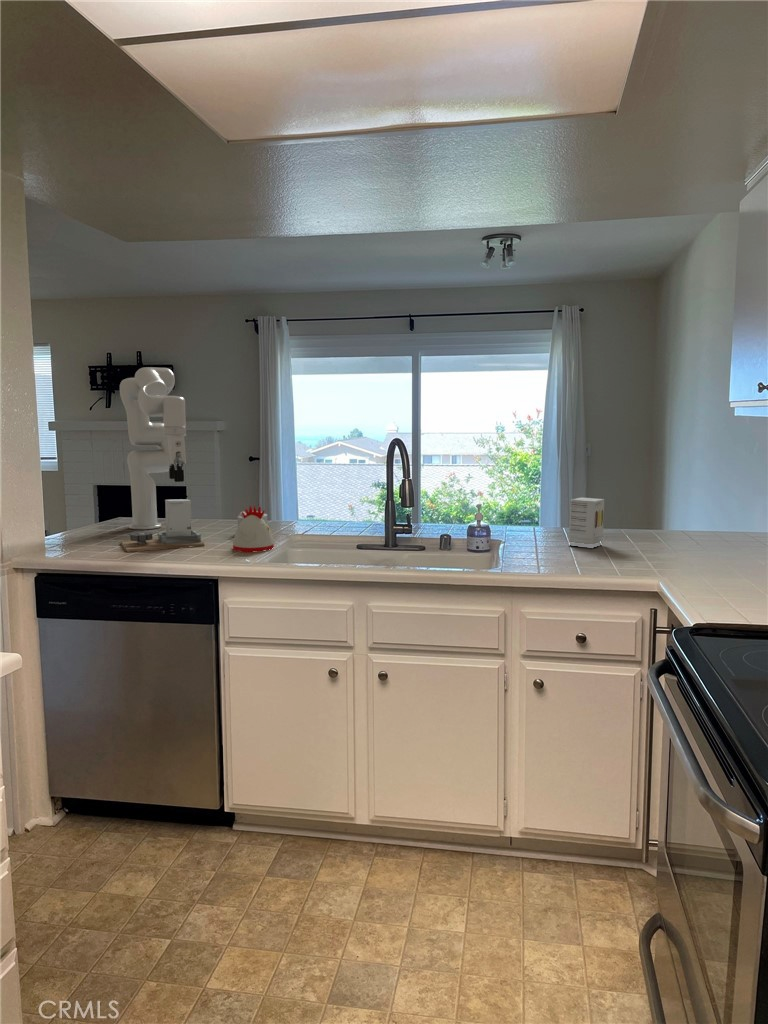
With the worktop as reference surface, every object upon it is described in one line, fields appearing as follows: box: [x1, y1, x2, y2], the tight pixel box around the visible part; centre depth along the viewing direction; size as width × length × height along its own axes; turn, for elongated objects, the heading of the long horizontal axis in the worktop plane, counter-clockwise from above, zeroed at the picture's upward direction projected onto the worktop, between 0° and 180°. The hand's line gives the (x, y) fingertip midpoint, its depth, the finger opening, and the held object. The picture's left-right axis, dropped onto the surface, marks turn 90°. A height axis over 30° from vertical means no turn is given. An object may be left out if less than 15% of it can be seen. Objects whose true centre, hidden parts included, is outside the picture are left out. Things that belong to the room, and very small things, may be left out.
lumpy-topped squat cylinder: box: [237, 510, 269, 527], centre depth 278 cm, size 10×13×9 cm
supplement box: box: [568, 497, 605, 544], centre depth 254 cm, size 10×9×17 cm
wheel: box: [129, 531, 153, 541], centre depth 252 cm, size 7×7×2 cm
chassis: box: [120, 529, 205, 553], centre depth 255 cm, size 18×26×4 cm
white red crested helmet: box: [232, 505, 275, 553], centre depth 248 cm, size 14×14×15 cm
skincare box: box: [164, 498, 192, 537], centre depth 257 cm, size 8×6×15 cm
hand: (176, 480), depth 255 cm, fingers open, 9 cm apart
